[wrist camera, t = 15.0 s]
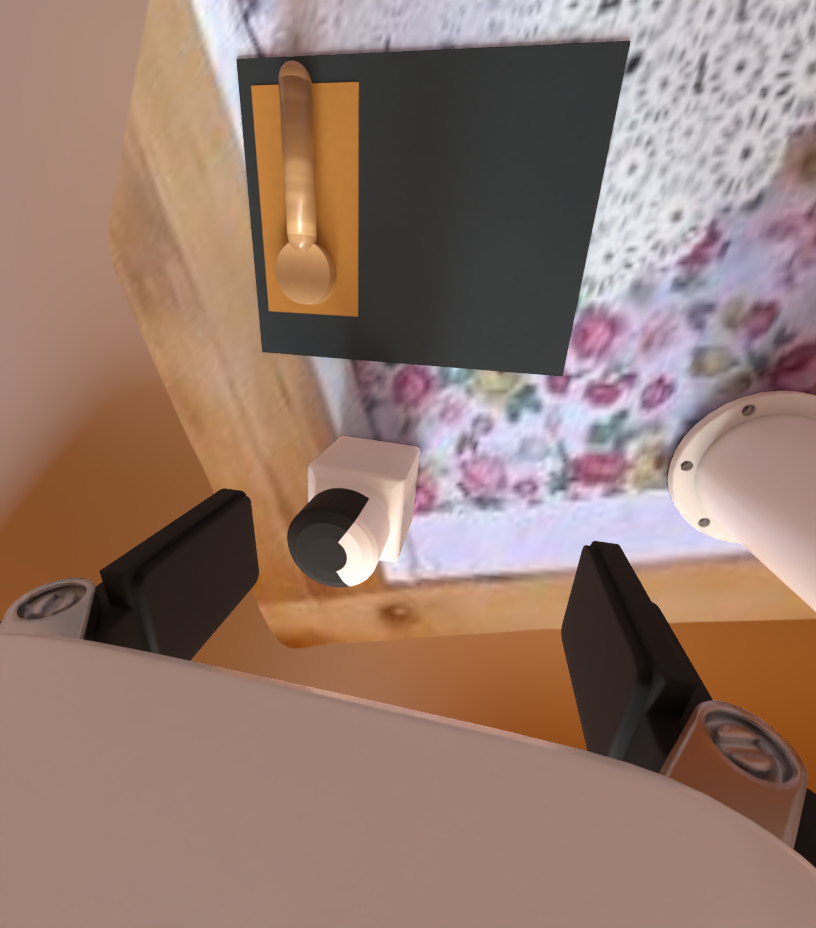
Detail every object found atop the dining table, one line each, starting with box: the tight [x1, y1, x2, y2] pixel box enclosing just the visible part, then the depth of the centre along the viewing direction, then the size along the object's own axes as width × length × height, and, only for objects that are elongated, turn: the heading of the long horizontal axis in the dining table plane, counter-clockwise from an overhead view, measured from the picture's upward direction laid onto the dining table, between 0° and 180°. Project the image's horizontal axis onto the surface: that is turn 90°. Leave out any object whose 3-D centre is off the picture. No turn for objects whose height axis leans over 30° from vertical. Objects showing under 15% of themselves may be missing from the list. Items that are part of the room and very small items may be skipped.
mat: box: [237, 41, 630, 376], centre depth 29 cm, size 26×20×1 cm
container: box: [287, 436, 420, 587], centre depth 31 cm, size 8×8×13 cm
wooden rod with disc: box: [275, 61, 336, 305], centre depth 28 cm, size 15×5×2 cm, turn 177°
